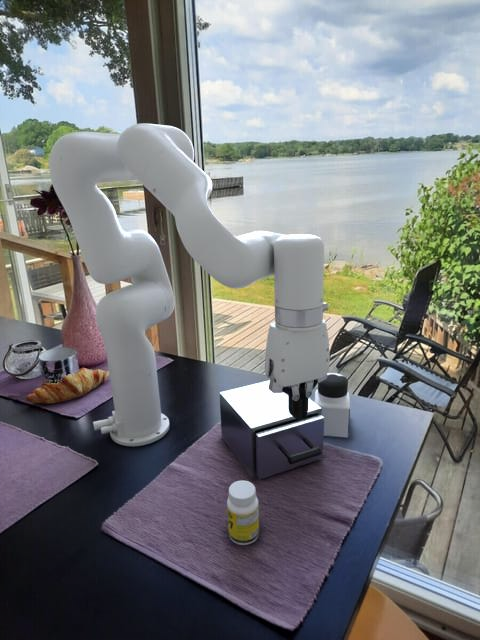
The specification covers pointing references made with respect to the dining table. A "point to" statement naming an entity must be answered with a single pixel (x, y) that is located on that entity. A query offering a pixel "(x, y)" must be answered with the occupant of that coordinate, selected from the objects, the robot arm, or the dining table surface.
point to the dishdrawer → (253, 418)
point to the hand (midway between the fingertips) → (298, 416)
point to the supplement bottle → (243, 513)
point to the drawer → (288, 445)
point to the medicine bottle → (334, 405)
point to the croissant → (68, 386)
